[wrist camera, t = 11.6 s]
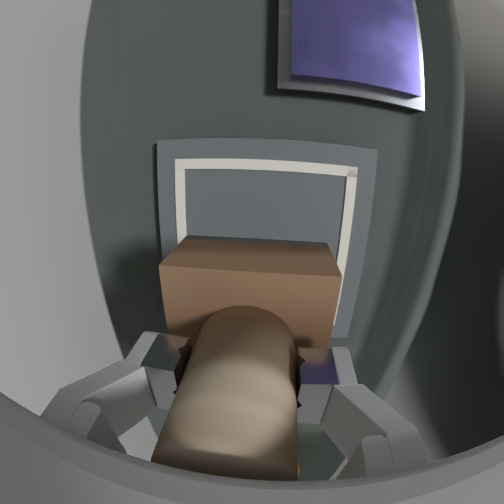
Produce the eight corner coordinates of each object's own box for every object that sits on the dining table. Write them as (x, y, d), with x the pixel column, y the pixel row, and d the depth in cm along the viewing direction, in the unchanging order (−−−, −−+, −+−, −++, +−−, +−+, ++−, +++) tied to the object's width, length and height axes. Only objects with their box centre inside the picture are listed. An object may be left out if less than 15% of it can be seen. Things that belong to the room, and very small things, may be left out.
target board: (160, 140, 16) (156, 140, 15) (374, 149, 15) (378, 149, 14) (172, 320, 21) (170, 325, 20) (345, 332, 20) (347, 338, 19)
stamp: (186, 234, 11) (63, 377, 4) (326, 242, 11) (395, 417, 3) (195, 343, 13) (140, 490, 6) (309, 352, 13) (321, 512, 5)
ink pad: (278, -25, 11) (278, -37, 10) (409, -1, 10) (418, -9, 9) (277, 91, 14) (277, 85, 13) (419, 112, 14) (430, 110, 12)
